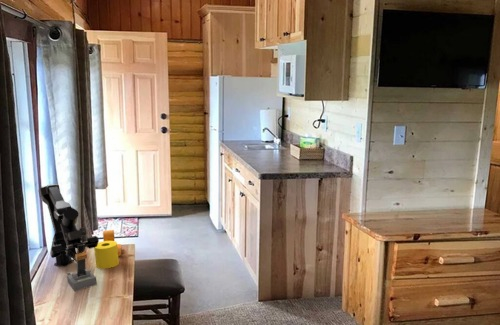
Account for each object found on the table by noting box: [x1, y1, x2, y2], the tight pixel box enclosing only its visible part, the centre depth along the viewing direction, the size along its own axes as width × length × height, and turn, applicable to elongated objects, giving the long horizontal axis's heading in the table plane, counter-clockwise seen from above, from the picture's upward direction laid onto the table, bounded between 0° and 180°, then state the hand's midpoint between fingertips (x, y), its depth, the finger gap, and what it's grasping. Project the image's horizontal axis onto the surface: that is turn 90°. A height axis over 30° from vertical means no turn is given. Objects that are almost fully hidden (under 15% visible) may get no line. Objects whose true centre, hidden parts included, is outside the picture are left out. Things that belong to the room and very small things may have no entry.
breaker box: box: [66, 268, 98, 292], centre depth 188 cm, size 10×9×5 cm
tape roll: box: [93, 240, 120, 270], centre depth 206 cm, size 10×10×9 cm
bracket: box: [102, 229, 122, 257], centre depth 218 cm, size 11×7×12 cm, turn 14°
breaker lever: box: [75, 251, 88, 277], centre depth 185 cm, size 2×4×11 cm, turn 127°
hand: (80, 264), depth 186 cm, fingers closed, pressing on breaker lever
